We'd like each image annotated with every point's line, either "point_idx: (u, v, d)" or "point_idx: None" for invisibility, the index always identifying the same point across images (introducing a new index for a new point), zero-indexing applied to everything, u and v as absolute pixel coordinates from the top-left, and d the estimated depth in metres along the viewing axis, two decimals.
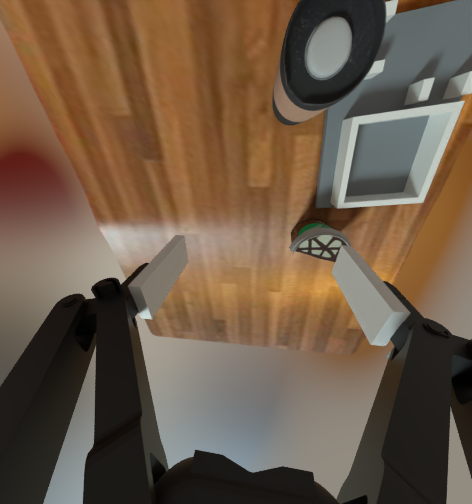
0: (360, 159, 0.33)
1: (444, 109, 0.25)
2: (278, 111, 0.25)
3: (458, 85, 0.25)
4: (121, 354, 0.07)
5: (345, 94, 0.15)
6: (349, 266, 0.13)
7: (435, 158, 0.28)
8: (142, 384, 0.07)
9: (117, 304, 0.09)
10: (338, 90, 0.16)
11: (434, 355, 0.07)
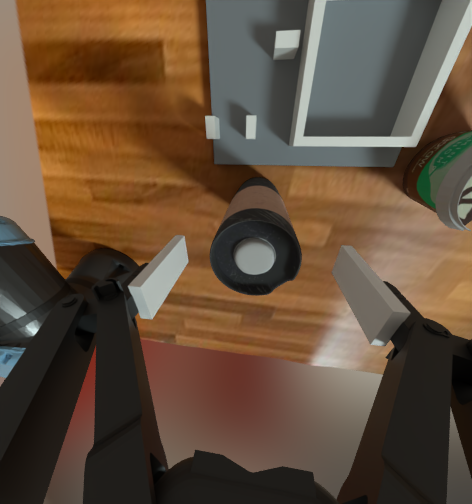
0: (344, 109, 0.23)
1: None
2: None
3: None
4: (120, 354, 0.07)
5: (297, 246, 0.13)
6: (349, 266, 0.13)
7: None
8: (142, 384, 0.07)
9: (117, 304, 0.09)
10: (288, 246, 0.14)
11: (434, 355, 0.07)
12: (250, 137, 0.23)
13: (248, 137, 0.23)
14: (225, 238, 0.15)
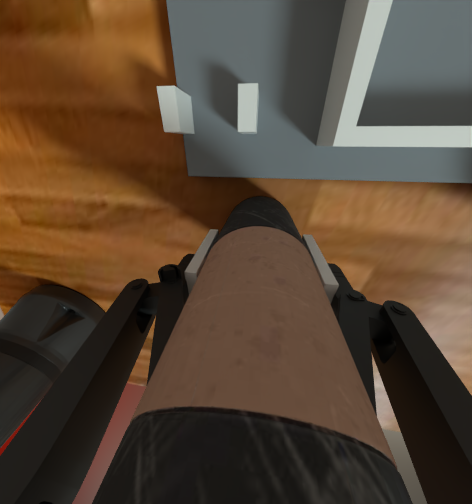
0: (433, 72, 0.11)
1: None
2: None
3: None
4: None
5: None
6: None
7: None
8: None
9: (175, 289, 0.10)
10: None
11: (356, 318, 0.08)
12: (246, 129, 0.12)
13: (242, 129, 0.12)
14: None
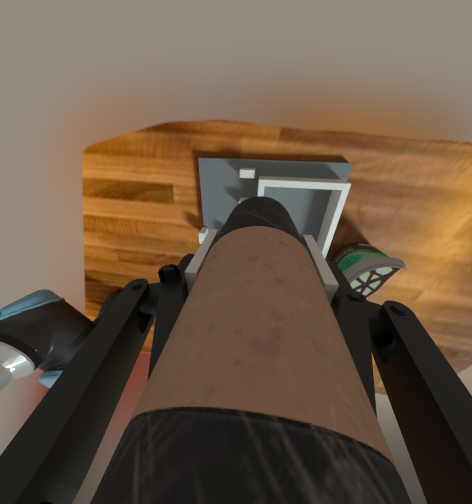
0: None
1: (261, 193, 0.29)
2: None
3: None
4: None
5: None
6: None
7: (302, 187, 0.28)
8: None
9: (175, 289, 0.10)
10: None
11: (356, 318, 0.08)
12: None
13: None
14: None
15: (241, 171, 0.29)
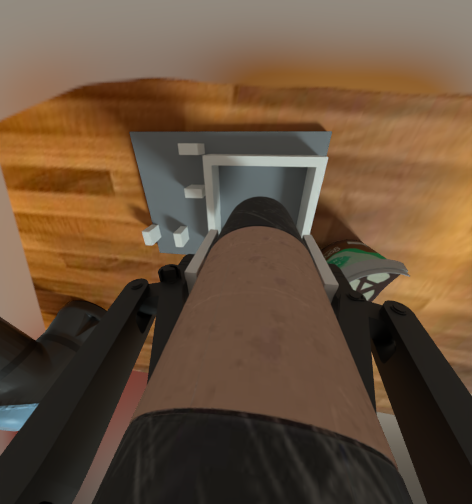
0: None
1: (209, 175, 0.22)
2: None
3: None
4: None
5: None
6: None
7: (261, 164, 0.20)
8: None
9: (175, 289, 0.10)
10: None
11: (356, 318, 0.08)
12: (179, 246, 0.29)
13: (177, 246, 0.29)
14: None
15: (180, 145, 0.21)
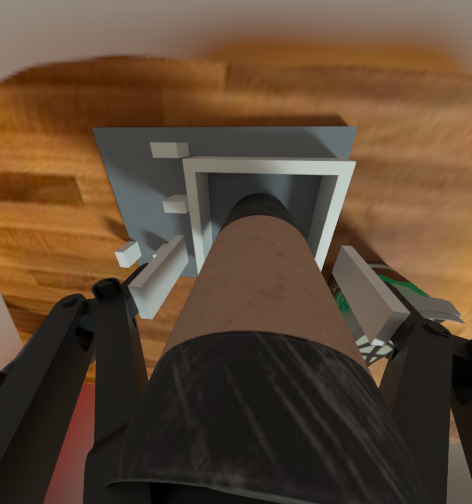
0: None
1: (192, 185, 0.16)
2: None
3: None
4: (120, 354, 0.07)
5: None
6: (349, 266, 0.13)
7: (262, 171, 0.15)
8: (142, 384, 0.07)
9: (117, 304, 0.09)
10: None
11: (434, 355, 0.07)
12: None
13: None
14: None
15: (153, 145, 0.16)
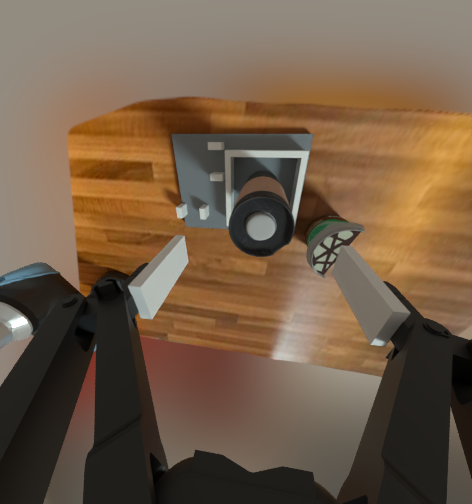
0: None
1: (228, 164, 0.31)
2: None
3: None
4: (121, 354, 0.07)
5: (291, 216, 0.19)
6: (349, 266, 0.13)
7: (264, 156, 0.30)
8: (142, 384, 0.07)
9: (117, 304, 0.09)
10: (285, 217, 0.20)
11: (434, 355, 0.07)
12: (202, 218, 0.39)
13: (201, 218, 0.39)
14: (240, 212, 0.20)
15: (209, 143, 0.31)
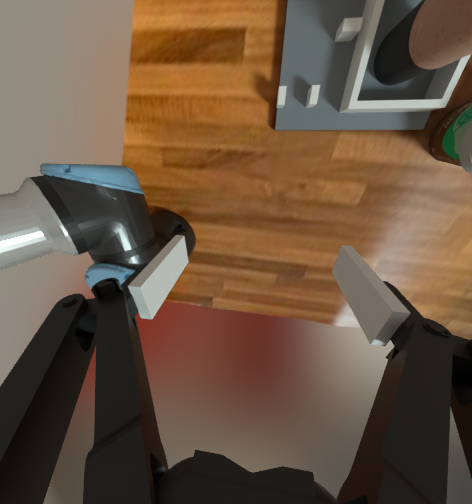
0: None
1: None
2: None
3: None
4: (121, 354, 0.07)
5: None
6: (349, 266, 0.13)
7: None
8: (142, 384, 0.07)
9: (117, 304, 0.09)
10: None
11: (434, 355, 0.07)
12: (313, 103, 0.29)
13: (311, 103, 0.29)
14: None
15: None
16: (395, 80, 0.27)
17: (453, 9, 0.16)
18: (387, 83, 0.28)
